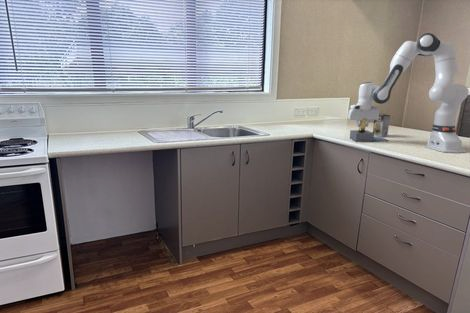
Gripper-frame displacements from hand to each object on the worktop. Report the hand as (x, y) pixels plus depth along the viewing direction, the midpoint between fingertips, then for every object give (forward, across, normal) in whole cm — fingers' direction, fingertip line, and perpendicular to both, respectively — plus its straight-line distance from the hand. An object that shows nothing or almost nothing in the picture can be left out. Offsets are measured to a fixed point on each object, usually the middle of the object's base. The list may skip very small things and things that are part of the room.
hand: (362, 126), depth 232 cm
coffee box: (+10, -20, -16) cm, 27 cm away
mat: (+10, -12, -3) cm, 16 cm away
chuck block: (+10, 0, 0) cm, 10 cm away
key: (+6, 0, -1) cm, 6 cm away
